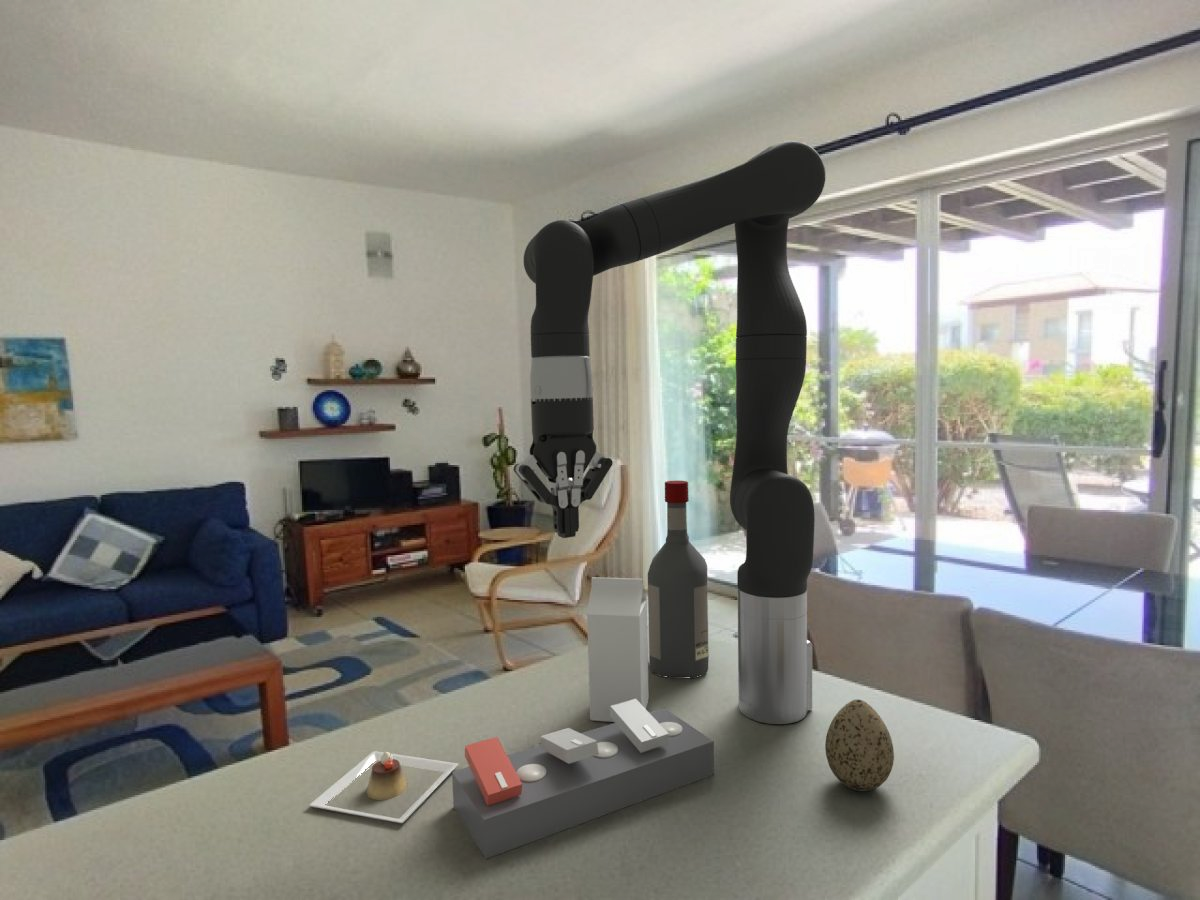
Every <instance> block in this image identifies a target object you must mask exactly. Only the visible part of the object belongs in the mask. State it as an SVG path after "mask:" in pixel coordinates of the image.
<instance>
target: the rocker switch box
mask: <svg viewBox="0 0 1200 900" xmlns="http://www.w3.org/2000/svg"><path fill="white" fill-rule="evenodd" d="M649 713H650V714H651V715H652V716H653V717H654V718H655V720H656V721H657V722H658V723H659V724H660V725H661V726H662V727H663V728H664V729H665V730H666V731H667V732H668V733H669V735H668V743H667V744H666V745H663V746H660V747H657V748H654V749H651V750H648V751H645V752H642V753H641V752H640V751H639V750H638V749H637V748H636V747H635V745H634V744H633V743H632V742H631V741H630V740H629V738H628V737H627V736H626V735H625V734H624V733H623V731H622V730H621V729H620V728H619V727H618V725H617V724H616V723H615V722H612V723H610V724H606V725H603V726H601V727H597V728H594V729H590V730H586V731H584V732H580V733H581V734H583V735H585V736H587V737H590V738H592V739H594V740H596V741H597V745H598V753H599V754H598V755H595V756H591V757H588V758H585V759H582V760H579V761H576V762H573V763H570V764H568V763H566V762H565V761H563V760H561V759H559V758H558V757H556V756H554V755H552V754H550V753H549V752H547V751H545V750H543V749H542V746H541V744H540V745H536V746H534V747H530V748H526V749H523V750H520V751H517V752H516V751H515V752H514V753H510V754H507V756H508V758H509V760H510V762H511V764H512V766H513V768H514V769H515V771H516V773H517V775H518V777H519V779H520V781H521V783H522V791H521V795H519V796H516V797H513V798H510V799H507V800H504V801H501V802H498V803H495V804H492V805H489V806H487V804H486V801H485V799H484V797H483V795H482V793H481V790H480V788H479V786H478V784H477V782H476V780H475V777H474V775H473V773H472V771H471V769H470V767H469V766H466V767H463V768H460V769H457V770H453V771H452V772H451V778H452V779H451V781H452V798H453V799H452V800H453V801H452V802H453V808H454V810H455V811H456V813H457V815H458V816H459V818H460V820H461V821H462V823H463V825H464V826H465V828H466V829H467V831H468V832H469V834H470V836H471V837H472V839H473V840H474V842H475V843H476V846H477V847H478V848H479V850H480V852H481V854H482V855H483V857H484V859H486V860H487V859H490V858H493V857H495V856H497V855H499V854H502V853H506V852H509V851H511V850H513V849H516V848H519V847H522V846H524V845H527V844H530V843H533V842H535V841H538V840H541V839H544V838H546V837H548V836H551V835H554V834H557V833H559V832H563V831H565V830H568V829H570V828H574V827H576V826H578V825H581V824H584V823H586V822H589V821H592V820H595V819H598V818H600V817H602V816H605V815H608V814H612V813H613V812H616V811H618V810H619V811H620V810H623V809H625V808H627V807H631V806H632V805H635V804H637V803H640V802H644V801H646V800H648V799H651V798H654V797H656V796H659V795H663V794H665V793H667V792H671V791H672V790H675V789H679V788H681V787H683V786H687V785H689V784H692V783H694V782H697V781H700V780H702V779H705V778H709V777H710V776H713V775H715V741H714V740H713V739H711V738H710V737H709V736H707V735H705V734H703V733H702V732H701V731H699V730H698V729H696V728H695V727H693V726H692V725H690V724H689V723H688V722H686V721H684V720H683V719H682V718H680V717H678V716H677V715H676V714H674V713H672V712H671V711H669V710H668V709H666V708H665V707H664V708H661V709H657V710H653V711H650V712H649Z"/></svg>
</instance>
